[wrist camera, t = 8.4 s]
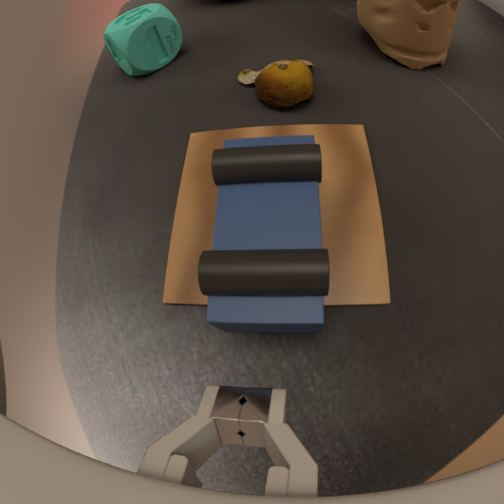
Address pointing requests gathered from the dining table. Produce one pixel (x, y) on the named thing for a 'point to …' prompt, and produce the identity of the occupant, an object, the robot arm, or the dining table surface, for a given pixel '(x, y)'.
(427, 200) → the dining table surface
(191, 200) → the brown flat square board
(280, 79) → the fruit
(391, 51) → the container
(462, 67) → the dining table surface
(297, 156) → the toy car
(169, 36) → the decorative dice
